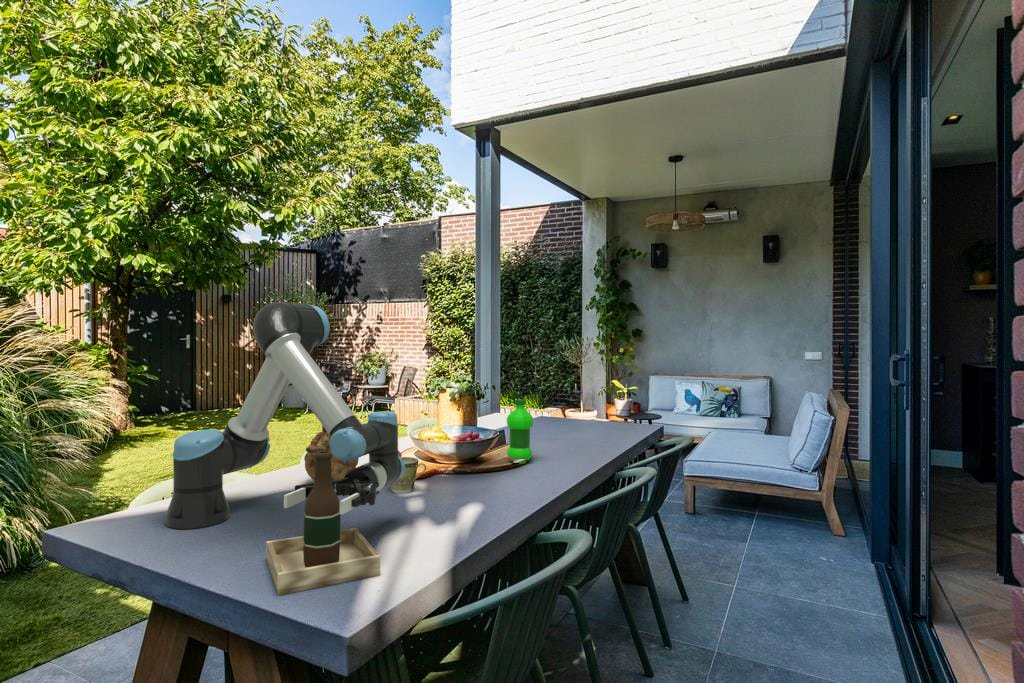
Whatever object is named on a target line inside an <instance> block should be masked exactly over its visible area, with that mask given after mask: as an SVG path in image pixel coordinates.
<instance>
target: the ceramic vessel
mask: <svg viewBox="0 0 1024 683" xmlns="http://www.w3.org/2000/svg"><path fill="white" fill-rule="evenodd" d="M321 425H322V424H321ZM321 429H322V430H321V431H319V432H317V433H316V435H315V436H314V437H313V438H312V439H311V441H310V445H308V446H307V447H306V448H305V452H306V453H305V455H304V457H303V459H304V468H305V472H306V473H307V475H308V477H309V478H310V479H312V480H313V481H314V477H315V465H316V458H315V454H316V452H319V451H330V452H331V448H330V444H329V443H330V439H331V436H330V435H329V433H328V432H327V431H326V429H325V428H324V427H323V425H322V426H321ZM358 464H359V458H358V459H353V460H347V461H342V460H339V459H337V458H336V457H334V455H333V454H332V458H331V474H332V478H333V480H340V479H342V478H344V477H345V476H346V474H347V473H348V472H349V471H350V470H352V469H354V468H357V467H358Z"/></svg>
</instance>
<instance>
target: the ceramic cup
mask: <svg viewBox="0 0 1024 683" xmlns="http://www.w3.org/2000/svg"><path fill="white" fill-rule="evenodd" d="M401 458H402V460H403V462H404V464H405V471H404V474H403V476H402V477H401V478H400V479H399V480H398V481H396V482H395V483H393V484H391V485H390V489H391V492H393V493H394V494H401V495H403V494H409V493H410V494H411V493H412V492H414V487H415V482H416V480H417V479H418V478H419V477H420V476H421V475H422V474H423V473H425V471H426V470H427V466H426V464H425V463H424V462H423V463H422V462H420V463H419V458H416V457H413V456H412V457H411V456H401ZM420 466H423V467H424V470H423V471H421V472H420V473H419V474H418V475H417V472H418V468H419V467H420Z"/></svg>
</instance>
